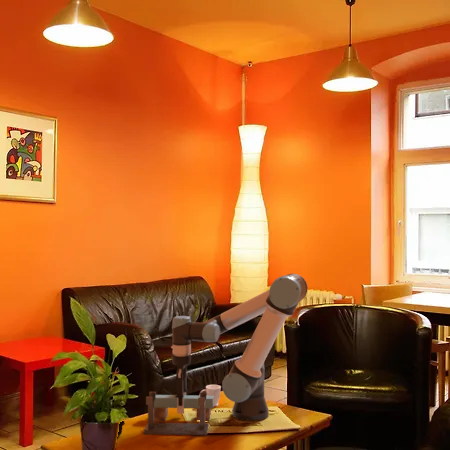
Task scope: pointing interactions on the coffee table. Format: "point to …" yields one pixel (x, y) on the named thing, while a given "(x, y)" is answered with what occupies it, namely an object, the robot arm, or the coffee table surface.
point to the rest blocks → (162, 414)
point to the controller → (120, 428)
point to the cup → (213, 392)
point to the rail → (189, 401)
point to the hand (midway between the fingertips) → (181, 410)
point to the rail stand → (176, 427)
